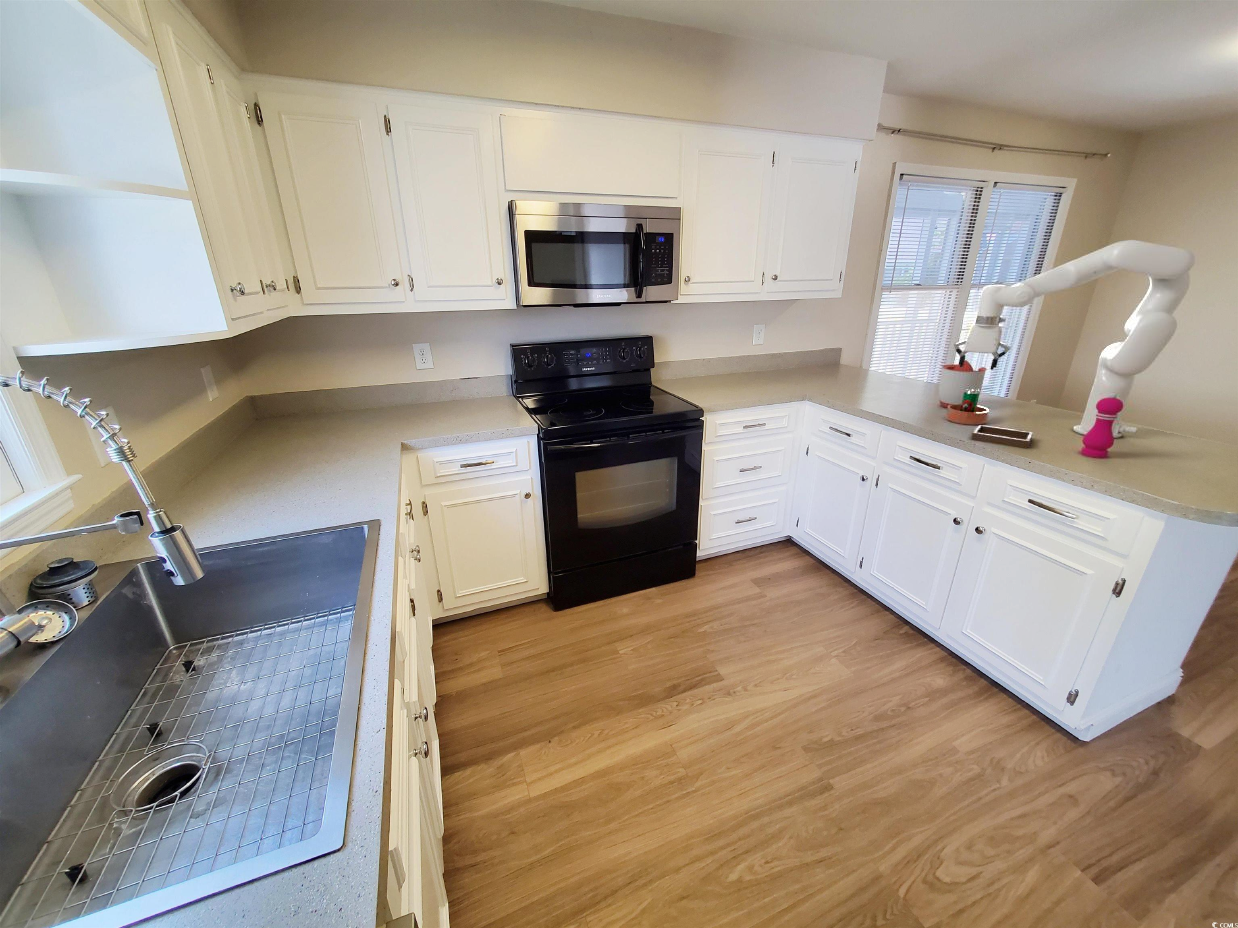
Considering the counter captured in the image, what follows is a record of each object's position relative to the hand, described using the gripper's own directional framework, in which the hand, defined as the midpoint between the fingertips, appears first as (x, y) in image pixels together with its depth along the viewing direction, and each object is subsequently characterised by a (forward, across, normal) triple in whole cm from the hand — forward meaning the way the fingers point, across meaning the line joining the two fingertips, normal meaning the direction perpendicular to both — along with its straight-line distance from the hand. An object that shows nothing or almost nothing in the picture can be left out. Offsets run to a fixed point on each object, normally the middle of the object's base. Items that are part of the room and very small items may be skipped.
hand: (976, 368), depth 186 cm
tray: (+21, -14, +18) cm, 31 cm away
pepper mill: (+21, -38, +19) cm, 47 cm away
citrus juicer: (+21, +6, -23) cm, 32 cm away
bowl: (+21, 0, -1) cm, 21 cm away
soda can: (+21, 0, -1) cm, 21 cm away
